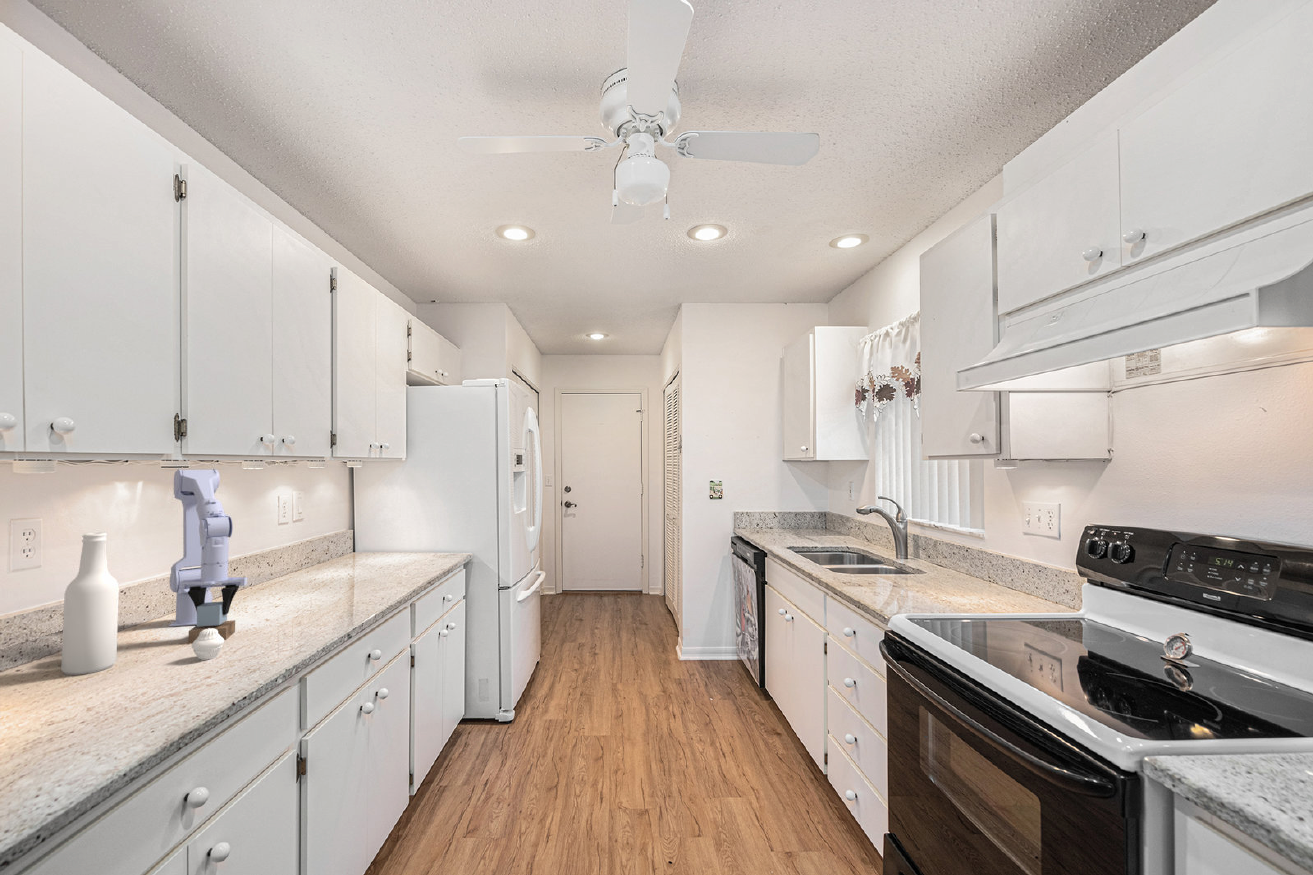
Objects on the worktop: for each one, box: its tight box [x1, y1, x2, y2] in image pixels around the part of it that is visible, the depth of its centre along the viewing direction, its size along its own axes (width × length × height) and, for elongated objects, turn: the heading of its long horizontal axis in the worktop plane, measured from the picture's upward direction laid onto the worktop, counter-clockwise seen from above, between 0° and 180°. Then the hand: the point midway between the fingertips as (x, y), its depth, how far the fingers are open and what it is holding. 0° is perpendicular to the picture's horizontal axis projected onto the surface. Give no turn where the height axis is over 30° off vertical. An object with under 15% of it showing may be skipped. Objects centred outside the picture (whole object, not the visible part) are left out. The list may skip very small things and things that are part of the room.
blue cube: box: [197, 601, 228, 627], centre depth 154 cm, size 5×5×5 cm
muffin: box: [191, 628, 225, 661], centre depth 138 cm, size 6×6×7 cm
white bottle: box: [60, 532, 120, 676], centre depth 131 cm, size 9×9×30 cm
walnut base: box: [187, 619, 236, 645], centre depth 155 cm, size 8×8×4 cm
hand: (213, 614), depth 155 cm, fingers closed on blue cube, 5 cm apart
